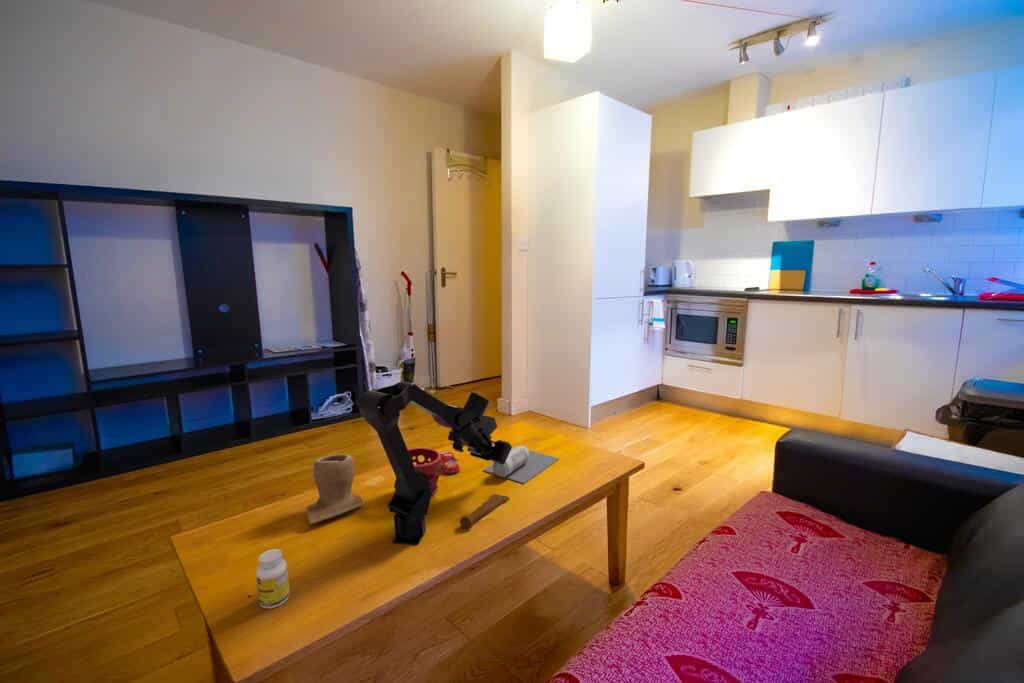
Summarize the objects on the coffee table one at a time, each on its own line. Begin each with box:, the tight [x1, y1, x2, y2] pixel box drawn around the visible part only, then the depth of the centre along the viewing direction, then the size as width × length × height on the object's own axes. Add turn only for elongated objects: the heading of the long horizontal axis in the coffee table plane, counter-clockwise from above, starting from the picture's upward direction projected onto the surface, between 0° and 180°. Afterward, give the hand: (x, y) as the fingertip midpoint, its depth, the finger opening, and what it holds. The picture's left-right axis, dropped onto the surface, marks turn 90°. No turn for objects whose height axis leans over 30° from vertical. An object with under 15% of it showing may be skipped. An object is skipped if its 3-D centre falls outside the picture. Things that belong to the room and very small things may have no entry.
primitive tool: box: [459, 493, 510, 530], centre depth 120 cm, size 19×6×4 cm, turn 154°
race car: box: [440, 451, 461, 475], centre depth 148 cm, size 13×5×4 cm, turn 18°
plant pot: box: [407, 447, 442, 498], centre depth 129 cm, size 13×13×12 cm
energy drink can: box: [492, 445, 531, 478], centre depth 144 cm, size 6×6×15 cm
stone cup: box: [305, 453, 364, 525], centre depth 120 cm, size 15×12×15 cm
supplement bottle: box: [255, 548, 291, 609], centre depth 87 cm, size 5×5×10 cm
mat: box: [482, 449, 560, 485], centre depth 149 cm, size 22×16×1 cm
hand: (493, 458), depth 135 cm, fingers closed
